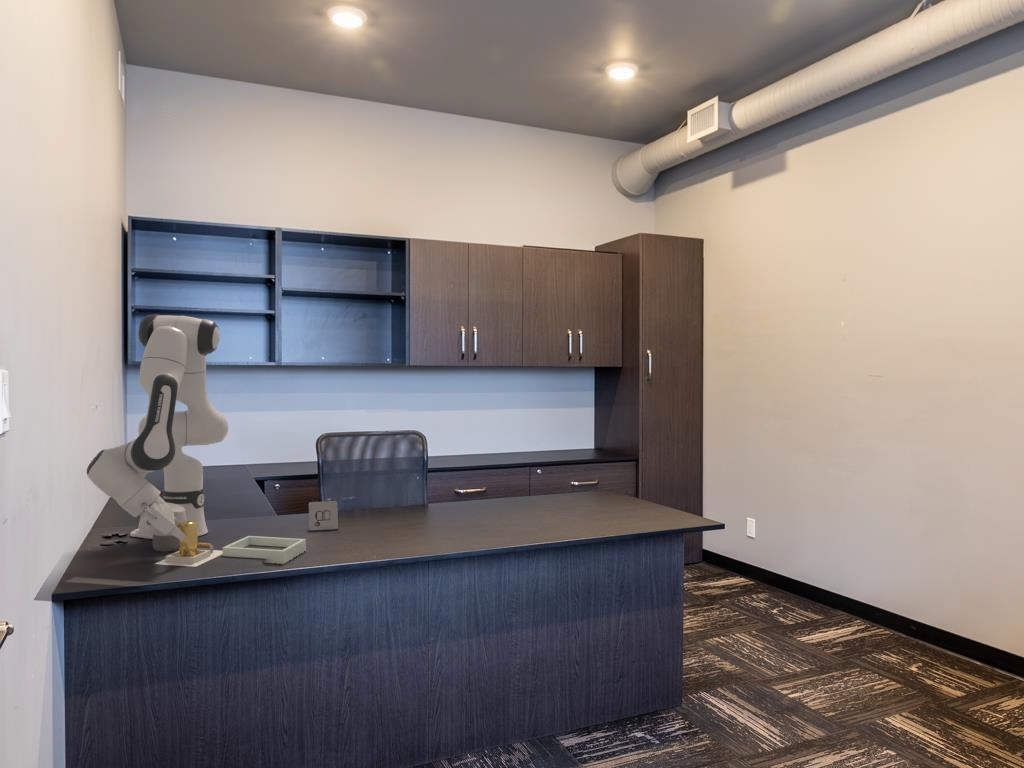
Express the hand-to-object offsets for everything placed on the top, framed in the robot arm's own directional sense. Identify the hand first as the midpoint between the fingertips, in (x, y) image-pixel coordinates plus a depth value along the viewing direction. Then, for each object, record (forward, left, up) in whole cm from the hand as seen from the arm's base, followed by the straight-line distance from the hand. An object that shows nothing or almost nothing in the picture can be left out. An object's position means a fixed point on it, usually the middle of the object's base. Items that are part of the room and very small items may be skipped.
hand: (183, 534), depth 192 cm
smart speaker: (-11, +11, -8) cm, 18 cm away
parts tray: (+17, +13, -8) cm, 23 cm away
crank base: (+1, +3, -8) cm, 9 cm away
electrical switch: (+19, +48, -8) cm, 52 cm away
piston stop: (+1, +1, -7) cm, 7 cm away
